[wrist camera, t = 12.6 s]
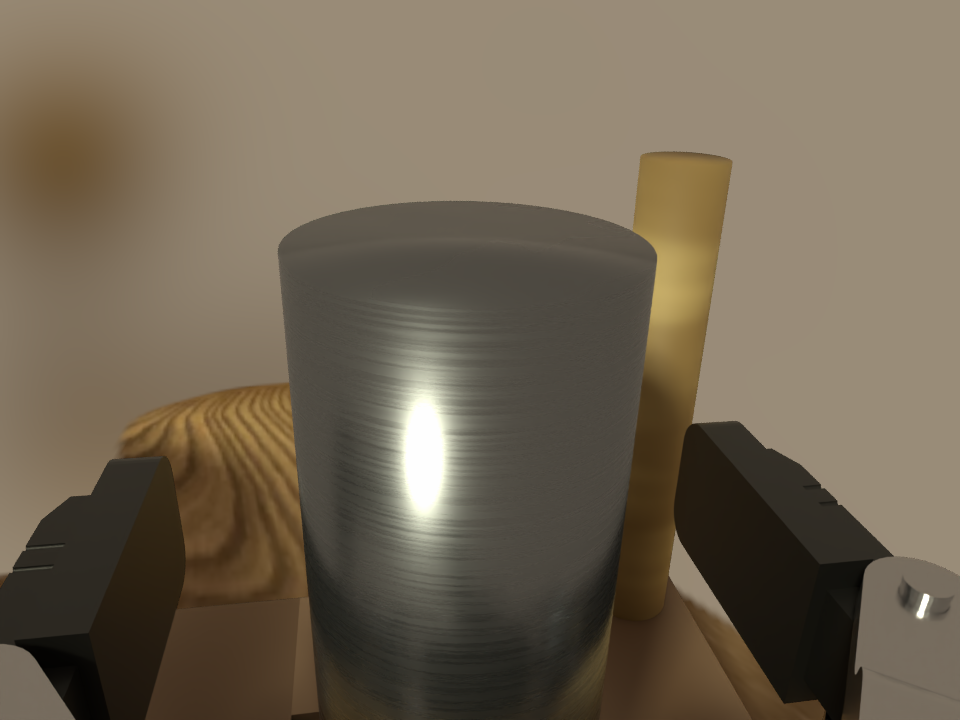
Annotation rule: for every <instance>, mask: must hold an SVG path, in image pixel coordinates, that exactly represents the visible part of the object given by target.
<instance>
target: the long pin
mask: <svg viewBox="0 0 960 720" xmlns="http://www.w3.org/2000/svg"><path fill="white" fill-rule="evenodd" d="M278 259H279V270H280V281H281V293H282V304H283V315H284V325H285V338H286V348H287V360H288V371H289V382H290V394H291V405H292V416H293V427H294V439H295V450H296V461H297V472H298V483H299V495H300V506H301V517H302V528H303V539H304V551H305V562H306V573H307V584H308V596H309V607H310V618H311V629H312V640H313V652H314V663H315V674H316V685H317V696H318V708H319V719H320V720H599V719H600V711H601V704H602V696H603V688H604V680H605V672H606V664H607V656H608V648H609V640H610V632H611V624H612V616H613V608H614V600H615V592H616V585H617V577H618V569H619V561H620V553H621V545H622V537H623V529H624V521H625V513H626V505H627V497H628V489H629V481H630V473H631V465H632V458H633V450H634V442H635V434H636V426H637V418H638V410H639V402H640V394H641V386H642V378H643V370H644V362H645V354H646V346H647V338H648V331H649V323H650V315H651V307H652V299H653V291H654V283H655V275H656V267H657V253H656V251H655V249H654V247H653V246H652V245H651V244H650V243H649V242H648V241H647V240H645V239H644V238H643V237H641V236H640V235H638V234H636V233H634V232H633V231H631V230H629V229H626V228H624V227H622V226H619V225H617V224H614V223H611V222H608V221H605V220H602V219H598V218H595V217H591V216H587V215H583V214H579V213H574V212H569V211H564V210H558V209H552V208H546V207H538V206H530V205H521V204H512V203H511V204H510V203H498V202H477V201H431V202H412V203H399V204H389V205H380V206H374V207H366V208H360V209H355V210H350V211H345V212H340V213H337V214H333V215H329V216H325V217H322V218H319V219H316V220H313V221H311V222H309V223H306V224H304V225H302V226H300V227H298V228H296V229H294V230H293V231H291V232H290V233H289V234H288V235H286V236H285V237H284V238H283V240H282V241H281V243H280V244H279V248H278Z"/></svg>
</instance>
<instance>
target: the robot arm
mask: <svg viewBox="0 0 960 720" xmlns="http://www.w3.org/2000/svg"><path fill="white" fill-rule="evenodd" d="M674 522H675V527H676V531H677V534H678V537H679V539H680V542H681V543H682V545H683V547H684V548H685V550H686V551H687V553H688V554H689V556H690V558H691V559H692V561H693V562H694V564H695V565H696V567H697V568H698V570H699V572H700V573H701V575H702V576H703V578H704V580H705V581H706V583H707V584H708V585H709V587H710V589H711V590H712V592H713V594H714V595H715V597H716V598H717V600H718V601H719V603H720V604H721V606H722V608H723V609H724V611H725V612H726V614H727V615H728V617H729V619H730V620H731V622H732V623H733V625H734V626H735V628H736V629H737V631H738V633H739V634H740V636H741V637H742V639H743V640H744V642H745V644H746V645H747V647H748V648H749V650H750V651H751V653H752V654H753V656H754V658H755V659H756V661H757V662H758V664H759V665H760V667H761V668H762V670H763V672H764V673H765V675H766V676H767V678H768V679H769V681H770V683H771V684H772V686H773V687H774V689H775V690H776V692H777V693H778V695H779V697H780V698H781V700H782V701H783V703H784V704H786V703H794V702H802V701H810V700H817V699H818V700H819V702H820V703H821V705H822V706H823V708H824V709H825V711H824V715H823V718H822V720H960V576H958V575H957V574H955V573H953V572H951V571H949V570H947V569H945V568H943V567H940V566H938V565H936V564H933V563H929V562H927V561H923V560H919V559H915V558H907V557H894V556H893V555H892V554H891V553H890V552H889V551H888V550H887V549H886V548H885V547H884V546H883V545H882V544H881V543H880V542H879V541H878V540H877V539H876V538H875V537H874V536H873V535H872V534H871V533H870V532H869V531H868V530H867V529H866V528H864V526H862V524H860V522H858V521H857V520H856V519H855V518H854V517H853V516H852V515H851V514H850V513H849V512H848V511H847V510H846V509H845V508H844V507H843V506H842V505H838V504H837V500H836V499H835V498H834V497H833V496H832V495H831V494H830V493H829V492H828V491H827V490H826V489H821V484H820V483H819V482H818V481H817V480H816V479H815V478H813V476H812V475H810V473H809V472H808V471H807V470H806V469H804V468H803V467H802V466H801V465H800V464H798V463H797V462H795V461H793V460H791V459H789V458H787V457H786V456H783V455H782V454H780V453H778V452H777V451H775V450H773V449H766V448H765V447H764V446H763V445H762V444H761V443H760V442H759V441H758V440H757V439H756V438H755V437H754V436H753V435H752V434H751V433H750V432H749V431H748V430H747V429H746V428H745V427H744V426H743V425H742V424H741V423H740V422H737V421H728V422H712V423H696V424H691V425H690V426H689V427H688V428H687V430H686V432H685V436H684V441H683V447H682V454H681V461H680V467H679V474H678V480H677V487H676V493H675V500H674ZM184 575H185V545H184V538H183V532H182V526H181V520H180V514H179V509H178V503H177V497H176V491H175V485H174V479H173V474H172V468H171V465H170V462H169V460H168V458H167V457H166V456H159V457H143V458H127V459H112V460H110V461H109V462H108V464H107V466H106V467H105V469H104V471H103V473H102V475H101V477H100V479H99V480H98V482H97V484H96V486H95V488H94V490H93V492H92V494H91V495H88V496H73V497H70V498H68V499H67V500H66V501H65V502H63V503H62V504H61V505H60V506H58V507H57V508H56V509H55V510H53V511H52V512H51V513H50V514H48V515H47V516H46V517H45V518H43V519H42V520H41V522H40V523H39V525H38V527H37V528H36V530H35V531H34V533H33V535H32V537H31V538H30V540H29V541H28V543H27V545H26V551H23V552H22V553H21V555H20V557H19V558H18V560H17V562H16V563H15V565H14V567H13V573H9V575H8V576H7V578H6V580H5V581H4V583H3V585H2V586H1V588H0V720H145V718H146V714H147V711H148V707H149V704H150V700H151V697H152V693H153V690H154V686H155V683H156V679H157V676H158V672H159V669H160V665H161V661H162V658H163V654H164V651H165V647H166V644H167V640H168V637H169V633H170V630H171V626H172V623H173V619H174V615H175V612H176V608H177V605H178V601H179V598H180V594H181V591H182V587H183V582H184Z"/></svg>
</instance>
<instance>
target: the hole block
mask: <svg viewBox="0 0 960 720" xmlns="http://www.w3.org/2000/svg"><path fill="white" fill-rule="evenodd" d="M731 168H732V161H731V160H730V159H728V158H724V157H721V156H716V155H709V154H702V153H692V152H653V153H646V154H643V155H641V157H640V167H639V177H638V186H637V196H636V205H635V215H634V224H633V232H634V233H636V234H638V235H640V236H641V237H643V238H644V239H645V240H647V241H648V242H649V243H650V244H651V245H652V246H653V247H654V249H655V251H656V253H657V267H656V275H655V283H654V291H653V299H652V307H651V315H650V323H649V331H648V338H647V346H646V354H645V362H644V370H643V378H642V386H641V394H640V402H639V410H638V418H637V426H636V434H635V442H634V450H633V458H632V465H631V473H630V481H629V489H628V497H627V505H626V513H625V521H624V529H623V537H622V545H621V553H620V561H619V569H618V577H617V585H616V592H615V600H614V608H613V616H612V624H611V632H610V640H609V648H608V656H607V664H606V672H605V680H604V688H603V696H602V704H601V711H600V719H599V720H752V718H751V717H750V715H749V713H748V712H747V710H746V708H745V706H744V705H743V703H742V701H741V700H740V698H739V696H738V694H737V693H736V691H735V689H734V687H733V686H732V684H731V682H730V681H729V679H728V677H727V675H726V674H725V672H724V670H723V669H722V667H721V665H720V663H719V662H718V660H717V658H716V656H715V655H714V653H713V651H712V650H711V648H710V646H709V644H708V643H707V641H706V639H705V638H704V636H703V634H702V632H701V631H700V629H699V627H698V625H697V624H696V622H695V620H694V619H693V617H692V615H691V613H690V612H689V610H688V608H687V606H686V605H685V603H684V601H683V600H682V598H681V596H680V594H679V593H678V591H677V589H676V588H675V586H674V584H673V582H672V581H671V579H670V577H669V575H668V574H669V568H670V561H671V555H672V548H673V542H674V536H675V529H676V527H675V522H674V500H675V493H676V487H677V480H678V474H679V467H680V461H681V454H682V447H683V441H684V436H685V432H686V430H687V428H688V427H689V426H690V425H691V424H692V419H693V413H694V407H695V400H696V394H697V387H698V381H699V374H700V367H701V361H702V355H703V349H704V342H705V336H706V329H707V323H708V316H709V310H710V304H711V297H712V291H713V284H714V278H715V270H716V264H717V258H718V252H719V245H720V239H721V233H722V226H723V219H724V213H725V207H726V200H727V194H728V188H729V181H730V174H731ZM145 720H320V719H319V708H318V696H317V685H316V674H315V663H314V652H313V640H312V629H311V618H310V607H309V597H301V598H291V599H280V600H270V601H259V602H248V603H238V604H227V605H216V606H206V607H195V608H184V609H176V612H175V615H174V619H173V623H172V626H171V630H170V633H169V637H168V640H167V644H166V647H165V651H164V654H163V658H162V661H161V665H160V669H159V672H158V676H157V679H156V683H155V686H154V690H153V693H152V697H151V700H150V704H149V707H148V711H147V714H146V718H145Z"/></svg>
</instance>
